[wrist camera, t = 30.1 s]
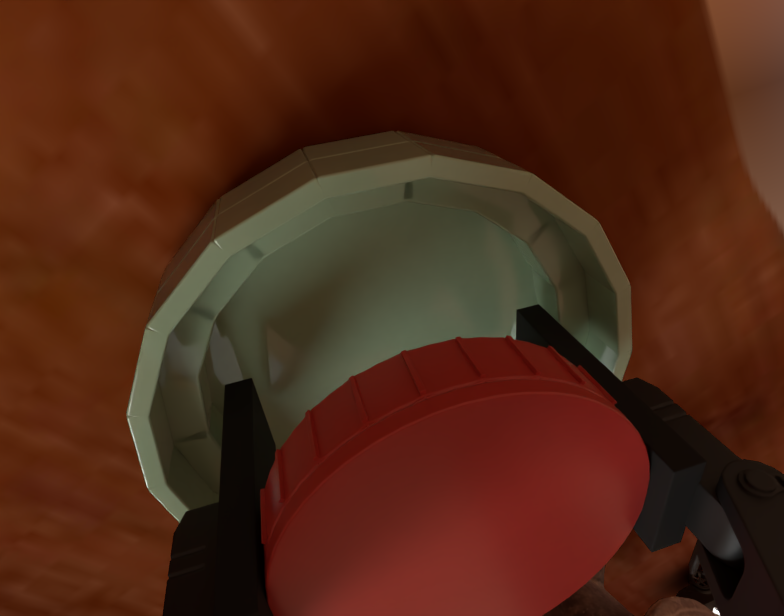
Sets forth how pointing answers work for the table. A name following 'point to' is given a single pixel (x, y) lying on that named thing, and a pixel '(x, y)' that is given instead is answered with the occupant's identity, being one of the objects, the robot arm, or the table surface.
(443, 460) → the lid
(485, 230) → the dish
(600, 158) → the table surface
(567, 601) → the clay figurine
